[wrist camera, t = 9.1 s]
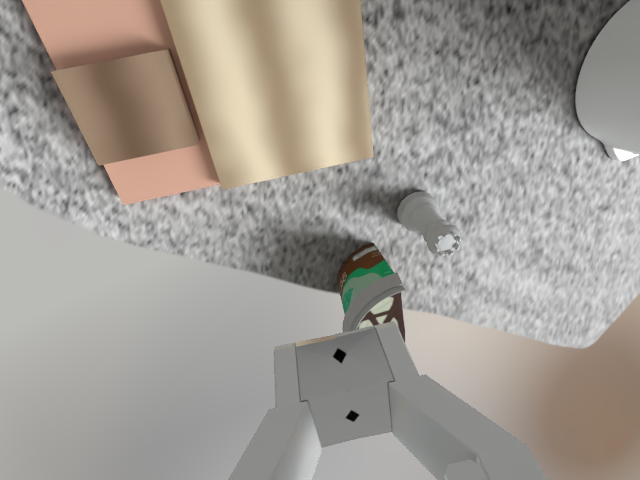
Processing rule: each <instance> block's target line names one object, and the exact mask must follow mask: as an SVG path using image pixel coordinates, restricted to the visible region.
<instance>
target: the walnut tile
mask: <svg viewBox="0 0 640 480" xmlns="http://www.w3.org/2000/svg"><path fill="white" fill-rule="evenodd" d="M51 73H52V75H53V77H54V79H55V81H56V83H57V85H58V87H59V89H60V91H61V93H62V95H63V97H64V99H65V101H66V103H67V105H68V107H69V109H70V111H71V113H72V115H73V117H74V119H75V121H76V123H77V125H78V127H79V129H80V131H81V133H82V135H83V136H84V138H85V140H86V142H87V144H88V146H89V148H90V150H91V152H92V154H93V156H94V158H95V160H96V162H97V164H98V166H100V165H104V164H109V163H114V162H119V161H124V160H128V159H133V158H138V157H143V156H148V155H152V154H157V153H162V152H167V151H172V150H177V149H181V148H186V147H191V146H196V145H198V143H199V140H200V137H199V134H198V131H197V128H196V125H195V122H194V119H193V116H192V113H191V110H190V107H189V104H188V101H187V98H186V95H185V92H184V89H183V86H182V83H181V80H180V77H179V74H178V71H177V68H176V65H175V62H174V59H173V56H172V54H171V51H170V49H164V50H159V51H154V52H149V53H143V54H138V55H133V56H128V57H122V58H117V59H112V60H106V61H101V62H96V63H91V64H85V65H80V66H75V67H70V68H64V69H60V70H55V71H51Z"/></svg>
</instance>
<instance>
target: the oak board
mask: <svg viewBox="0 0 640 480" xmlns="http://www.w3.org/2000/svg"><path fill="white" fill-rule="evenodd" d="M160 1H161V4H162V7H163V10H164V13H165V16H166V19H167V22H168V25H169V28H170V31H171V34H172V38H173V41H174V44H175V47H176V50H177V53H178V56H179V59H180V62H181V65H182V68H183V71H184V74H185V77H186V80H187V83H188V86H189V89H190V92H191V96H192V99H193V102H194V105H195V108H196V111H197V114H198V117H199V120H200V123H201V126H202V129H203V132H204V135H205V138H206V141H207V144H208V147H209V150H210V154H211V157H212V160H213V163H214V166H215V169H216V172H217V175H218V178H219V181H220V184H221V187H222V190H223V189H228V188H232V187H237V186H242V185H246V184H251V183H256V182H260V181H265V180H269V179H274V178H279V177H283V176H288V175H293V174H297V173H302V172H306V171H311V170H316V169H320V168H325V167H330V166H334V165H339V164H343V163H348V162H353V161H357V160H362V159H367V158H371V157H374V155H373V143H372V132H371V120H370V108H369V96H368V84H367V73H366V61H365V49H364V37H363V26H362V14H361V2H360V0H160Z"/></svg>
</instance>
